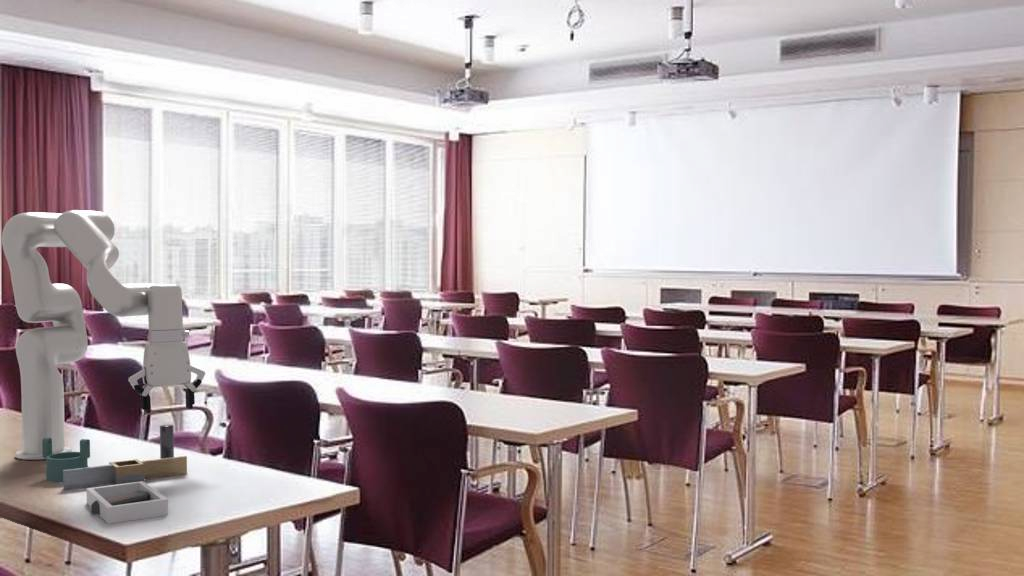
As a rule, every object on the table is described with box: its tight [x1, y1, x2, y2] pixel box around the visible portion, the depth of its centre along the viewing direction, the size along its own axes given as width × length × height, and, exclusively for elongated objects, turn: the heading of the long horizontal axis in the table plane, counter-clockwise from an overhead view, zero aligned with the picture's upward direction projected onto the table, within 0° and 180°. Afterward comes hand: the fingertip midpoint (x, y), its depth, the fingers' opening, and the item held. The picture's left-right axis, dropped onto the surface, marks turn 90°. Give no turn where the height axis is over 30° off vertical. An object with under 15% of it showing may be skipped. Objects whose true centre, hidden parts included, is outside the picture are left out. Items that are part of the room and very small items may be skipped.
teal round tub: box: [42, 438, 91, 483], centre depth 223 cm, size 9×9×9 cm
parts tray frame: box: [85, 481, 169, 524], centre depth 196 cm, size 18×11×3 cm, turn 35°
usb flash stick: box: [90, 490, 150, 516], centre depth 196 cm, size 5×12×3 cm, turn 146°
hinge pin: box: [159, 424, 175, 459], centre depth 232 cm, size 3×3×10 cm
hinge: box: [62, 455, 188, 490], centre depth 220 cm, size 26×6×4 cm, turn 125°
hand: (168, 410), depth 232 cm, fingers open, 9 cm apart
